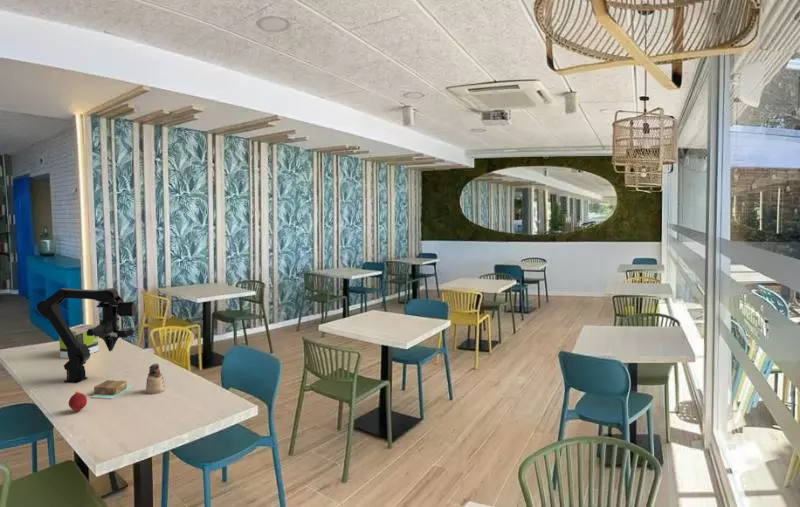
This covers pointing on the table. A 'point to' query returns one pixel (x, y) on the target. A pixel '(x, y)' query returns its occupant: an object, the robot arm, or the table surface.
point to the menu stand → (110, 387)
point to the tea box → (81, 339)
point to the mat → (111, 395)
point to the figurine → (155, 380)
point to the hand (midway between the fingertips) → (110, 350)
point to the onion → (77, 401)
